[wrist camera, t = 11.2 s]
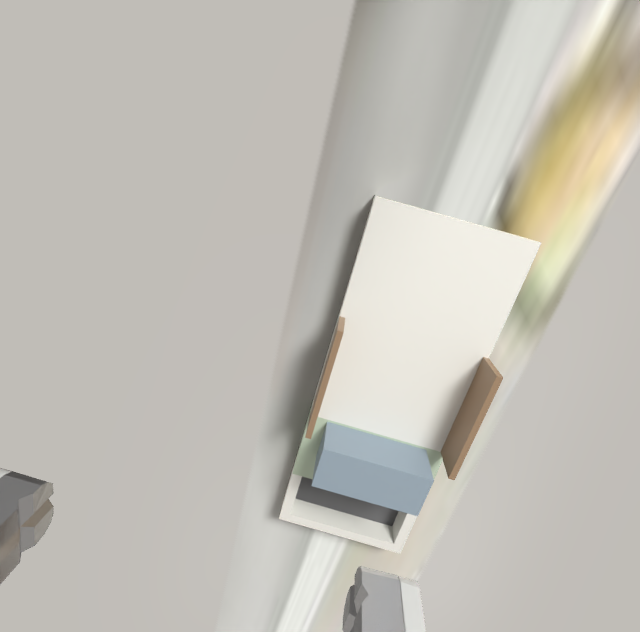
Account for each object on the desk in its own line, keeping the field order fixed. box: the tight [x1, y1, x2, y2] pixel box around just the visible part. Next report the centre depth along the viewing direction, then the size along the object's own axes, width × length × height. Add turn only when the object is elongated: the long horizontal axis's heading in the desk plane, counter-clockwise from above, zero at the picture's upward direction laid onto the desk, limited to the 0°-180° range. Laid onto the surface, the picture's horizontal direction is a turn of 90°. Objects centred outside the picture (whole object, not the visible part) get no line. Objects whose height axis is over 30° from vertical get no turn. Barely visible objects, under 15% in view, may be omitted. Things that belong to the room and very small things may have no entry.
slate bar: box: [312, 422, 434, 516], centre depth 35 cm, size 4×10×4 cm, turn 75°
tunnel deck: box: [279, 195, 541, 554], centre depth 35 cm, size 33×13×6 cm, turn 165°
